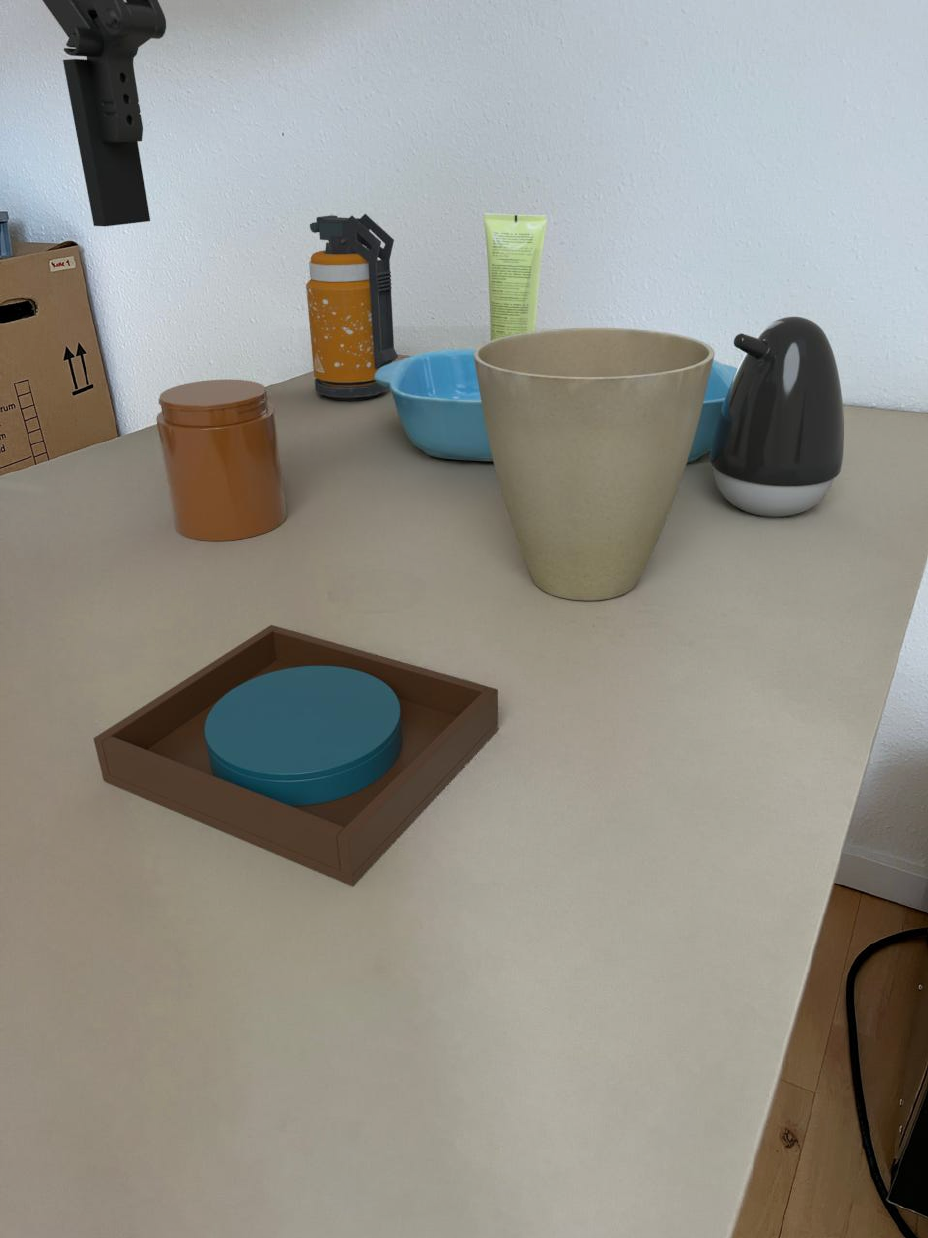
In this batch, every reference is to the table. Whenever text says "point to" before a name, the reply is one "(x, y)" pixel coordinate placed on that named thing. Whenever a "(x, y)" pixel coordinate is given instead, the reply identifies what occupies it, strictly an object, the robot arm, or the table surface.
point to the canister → (350, 307)
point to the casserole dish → (452, 410)
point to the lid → (305, 734)
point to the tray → (313, 834)
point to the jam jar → (221, 459)
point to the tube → (513, 271)
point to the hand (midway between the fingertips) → (26, 220)
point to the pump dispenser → (780, 421)
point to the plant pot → (590, 446)
